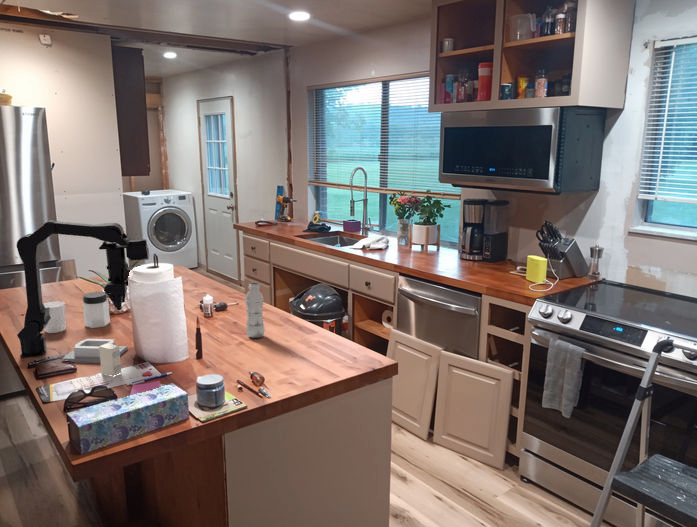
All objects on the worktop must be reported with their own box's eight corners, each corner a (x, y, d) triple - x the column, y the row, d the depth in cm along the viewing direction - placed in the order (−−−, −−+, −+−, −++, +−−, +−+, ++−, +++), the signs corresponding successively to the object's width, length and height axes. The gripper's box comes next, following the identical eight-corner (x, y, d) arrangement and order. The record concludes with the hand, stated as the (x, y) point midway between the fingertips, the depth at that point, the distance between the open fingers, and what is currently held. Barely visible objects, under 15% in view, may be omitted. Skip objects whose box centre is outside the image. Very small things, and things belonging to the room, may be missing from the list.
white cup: (38, 331, 204) (35, 305, 202) (58, 325, 211) (55, 300, 209) (52, 335, 201) (49, 308, 199) (72, 328, 208) (69, 303, 205)
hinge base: (62, 361, 177) (60, 349, 176) (81, 348, 189) (80, 336, 188) (110, 363, 177) (109, 351, 176) (127, 349, 188) (126, 337, 187)
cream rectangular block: (101, 374, 169) (99, 346, 167) (109, 370, 171) (107, 343, 169) (114, 377, 166) (112, 349, 164) (122, 373, 169) (120, 346, 167)
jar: (80, 325, 211) (77, 295, 209) (99, 319, 218) (96, 290, 216) (95, 329, 207) (92, 298, 204) (114, 323, 214) (111, 293, 211)
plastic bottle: (261, 340, 198) (260, 286, 194) (243, 339, 199) (241, 285, 195) (267, 334, 204) (266, 282, 200) (250, 333, 206) (248, 280, 201)
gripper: (139, 266, 177) (143, 312, 181) (144, 254, 195) (148, 296, 199) (101, 268, 175) (107, 315, 178) (110, 256, 192) (115, 299, 196)
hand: (121, 306), depth 188 cm, fingers open, 9 cm apart
